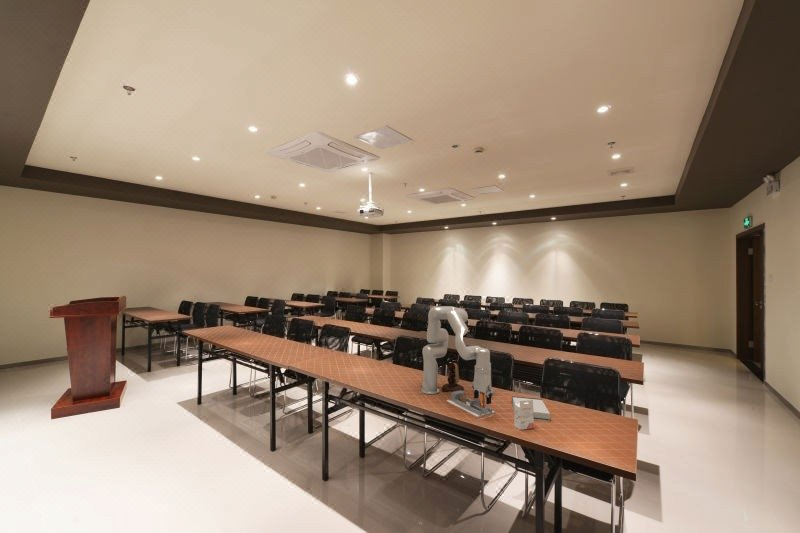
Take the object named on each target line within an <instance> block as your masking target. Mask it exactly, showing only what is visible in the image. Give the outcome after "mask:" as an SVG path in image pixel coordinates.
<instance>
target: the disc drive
mask: <svg viewBox="0 0 800 533" xmlns="http://www.w3.org/2000/svg"><path fill="white" fill-rule="evenodd" d="M524 400H533V421H541V422H550V421H551V412H550V411H549V410H548V408H547V406H546V405H545V403H544V401H543V399H542V398H533V397H523V396H522V397H521V396H513V395H512V396H511V404H512V407H513V408H514V404H519V403H520V401H524ZM526 403H528V402H526Z"/></svg>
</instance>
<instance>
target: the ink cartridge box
mask: <svg viewBox="0 0 800 533" xmlns="http://www.w3.org/2000/svg"><path fill="white" fill-rule="evenodd" d="M526 402H528V403H526ZM513 410H514V412H513V415H514V427H515V428H516V429H518V430H519V431H520V430H531V429H534V420H533V400H524V401H520V403H519V404H514V407H513Z"/></svg>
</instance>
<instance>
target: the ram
mask: <svg viewBox="0 0 800 533" xmlns="http://www.w3.org/2000/svg"><path fill="white" fill-rule="evenodd" d="M470 406H471V407H473V408H475V409H477V410H479V411H481V414H482V413H486V412H488V407H489V406H487V405H486V397H485V393H483V392H480V396H479V398H476V399H472V400H471V401H470Z"/></svg>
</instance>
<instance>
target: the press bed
mask: <svg viewBox="0 0 800 533" xmlns="http://www.w3.org/2000/svg"><path fill="white" fill-rule="evenodd" d="M463 395H464V396H466V392H465V390H464V391H461V390H460V391H455V392H450V399H447V400H446V402H448V403H450V404H451V405H453V406H455V407H458V408H459V409H461V410H463V411H465V412H467V413H468V414H471V415H473V416H475V417H474V419H475V420H479V419H483V418H486V417H491V416H495V415H496V413H495V411H494V410H493V408H491V407H489V406H487V407H488V412H486V413H482V414H481V411H479V410H477V409H475V408H473V407H471V406H470V401H471V400H473V399H471V398H470V397H468V396H466V398H467V402H466V403H463V402H461V401H460V397H461V396H463Z"/></svg>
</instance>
